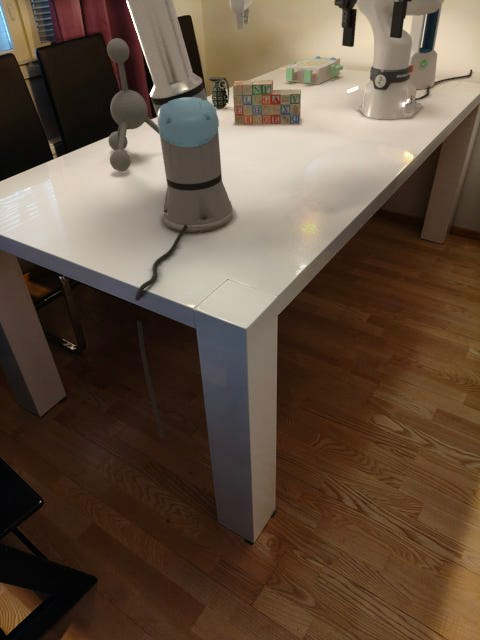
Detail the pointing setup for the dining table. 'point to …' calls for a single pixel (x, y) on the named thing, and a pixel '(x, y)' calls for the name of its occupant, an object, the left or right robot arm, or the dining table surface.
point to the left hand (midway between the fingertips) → (372, 41)
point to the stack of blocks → (265, 103)
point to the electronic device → (424, 49)
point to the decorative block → (313, 70)
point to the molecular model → (124, 109)
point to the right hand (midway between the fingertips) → (243, 26)
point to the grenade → (219, 92)
